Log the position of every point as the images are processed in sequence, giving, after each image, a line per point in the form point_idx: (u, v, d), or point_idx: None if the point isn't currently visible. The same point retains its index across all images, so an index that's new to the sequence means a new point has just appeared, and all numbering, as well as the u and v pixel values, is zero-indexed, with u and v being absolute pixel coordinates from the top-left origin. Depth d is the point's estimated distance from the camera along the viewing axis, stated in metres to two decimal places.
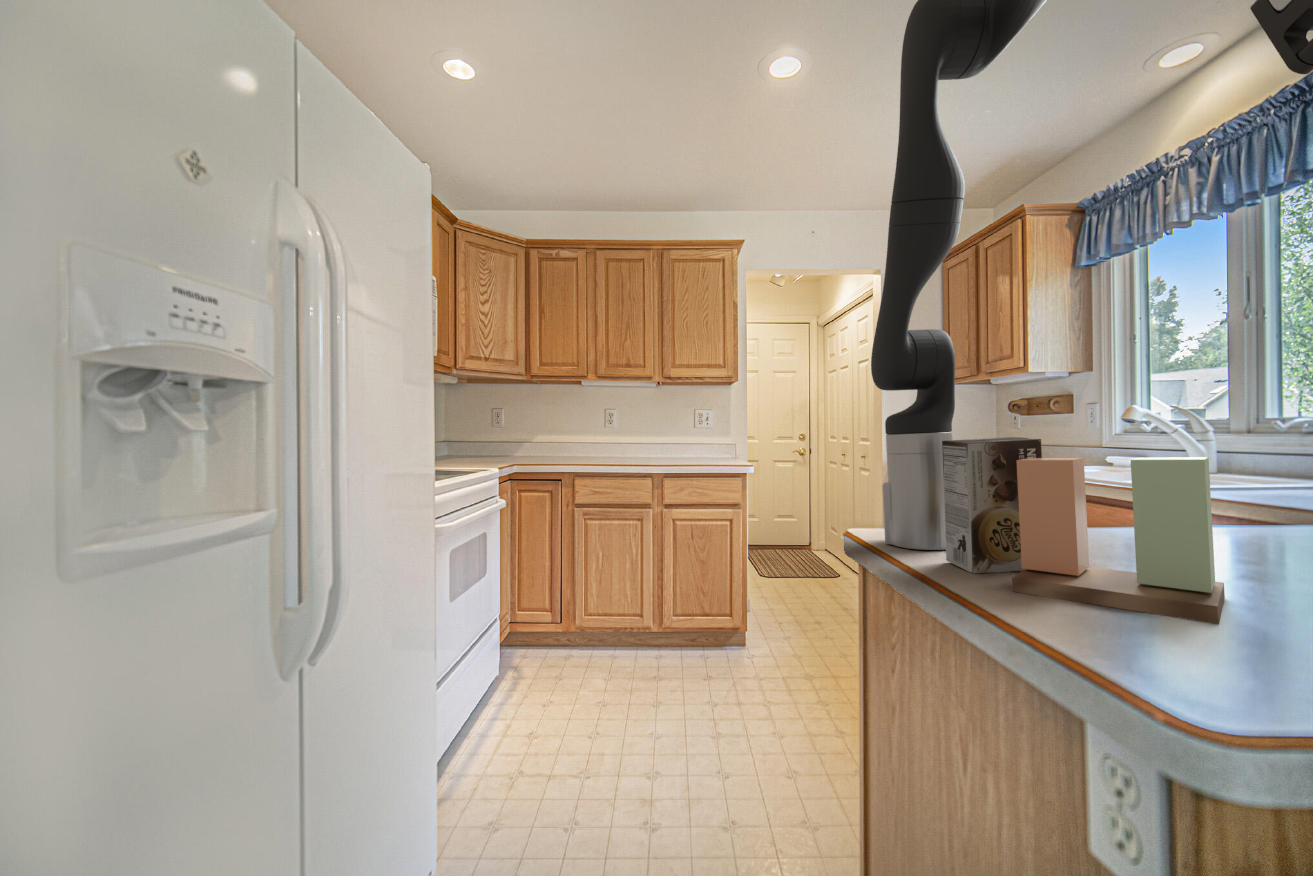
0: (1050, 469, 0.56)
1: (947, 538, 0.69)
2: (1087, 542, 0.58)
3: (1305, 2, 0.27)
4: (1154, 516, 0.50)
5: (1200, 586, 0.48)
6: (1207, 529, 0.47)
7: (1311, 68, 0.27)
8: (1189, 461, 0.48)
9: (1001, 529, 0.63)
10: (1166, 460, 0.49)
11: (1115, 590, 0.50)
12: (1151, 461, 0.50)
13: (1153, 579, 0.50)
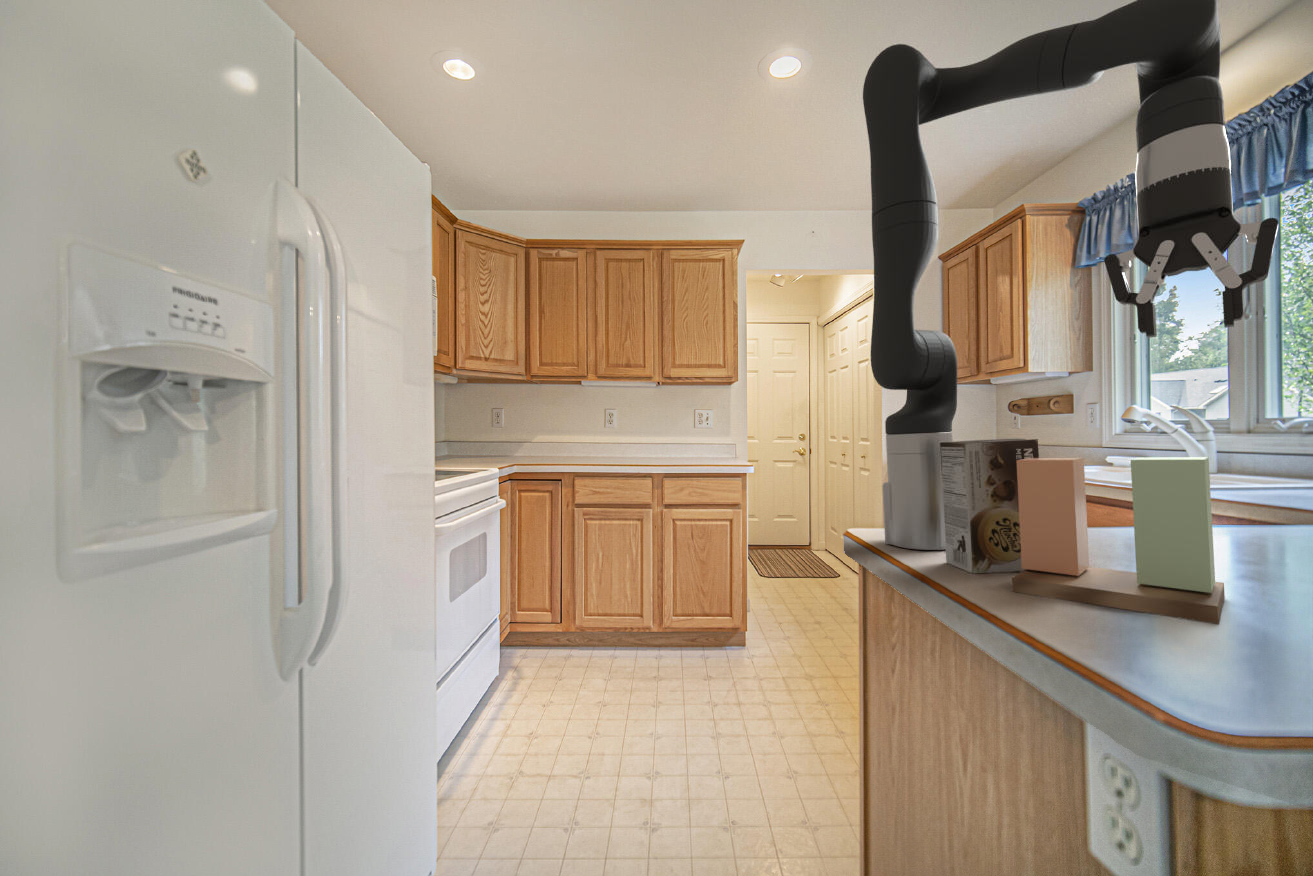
0: (1050, 469, 0.56)
1: (947, 539, 0.69)
2: (1087, 542, 0.58)
3: (1272, 251, 0.55)
4: (1154, 516, 0.50)
5: (1200, 586, 0.48)
6: (1207, 529, 0.47)
7: (1256, 278, 0.55)
8: (1189, 461, 0.48)
9: (1000, 528, 0.64)
10: (1166, 460, 0.49)
11: (1115, 590, 0.50)
12: (1151, 461, 0.50)
13: (1153, 579, 0.50)
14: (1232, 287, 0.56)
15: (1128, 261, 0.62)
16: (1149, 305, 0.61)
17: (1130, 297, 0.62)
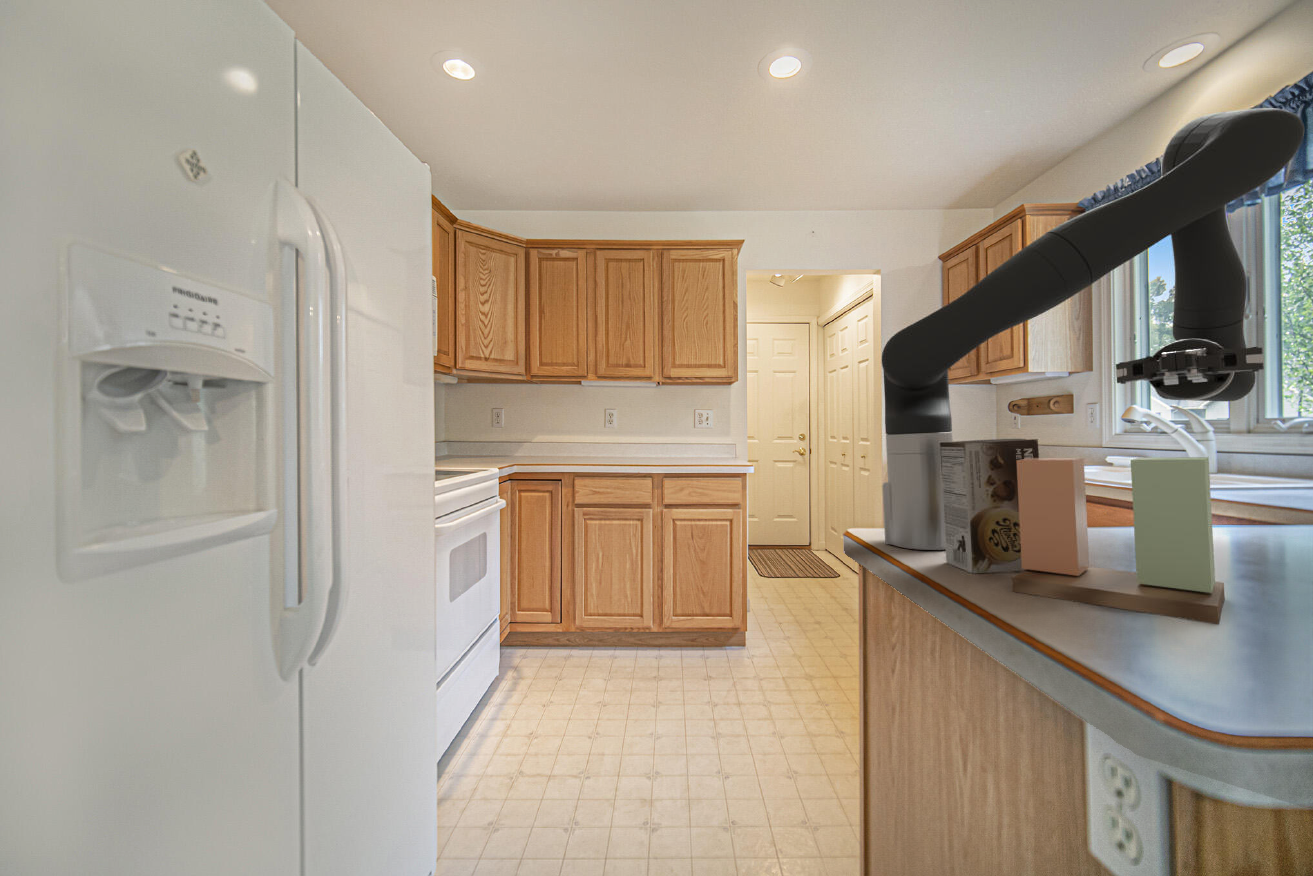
0: (1050, 469, 0.56)
1: (947, 539, 0.69)
2: (1087, 542, 0.58)
3: (1130, 366, 0.65)
4: (1154, 516, 0.50)
5: (1200, 586, 0.48)
6: (1207, 529, 0.47)
7: (1154, 374, 0.62)
8: (1189, 461, 0.48)
9: (1000, 528, 0.64)
10: (1166, 460, 0.49)
11: (1115, 590, 0.50)
12: (1151, 461, 0.50)
13: (1153, 579, 0.50)
14: (1171, 375, 0.60)
15: None
16: (1183, 373, 0.59)
17: (1205, 368, 0.59)
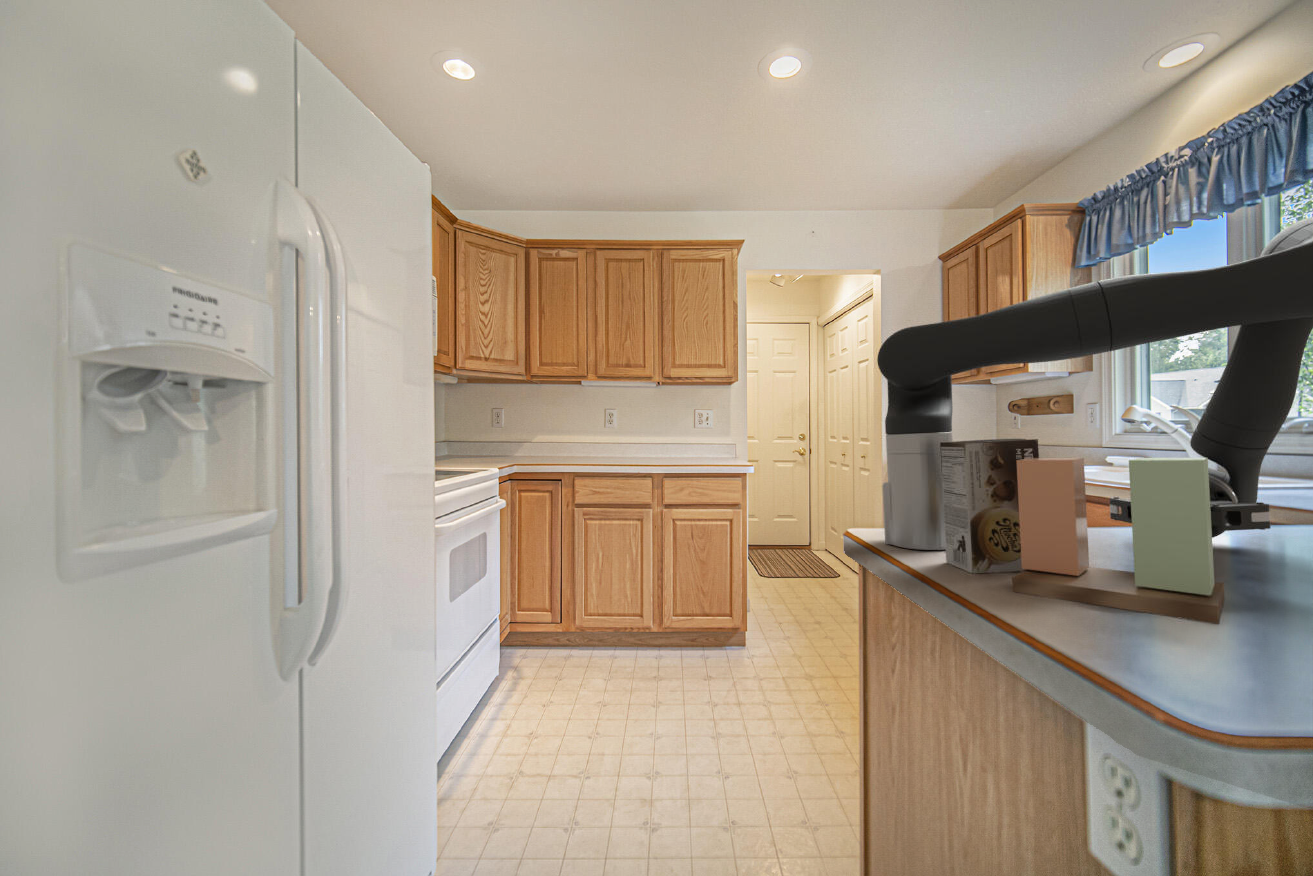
0: (1050, 469, 0.56)
1: (947, 539, 0.69)
2: (1087, 542, 0.58)
3: (1125, 506, 0.59)
4: (1153, 518, 0.49)
5: (1199, 589, 0.47)
6: (1206, 531, 0.47)
7: None
8: (1188, 462, 0.47)
9: (1000, 528, 0.64)
10: (1164, 461, 0.49)
11: (1115, 590, 0.50)
12: (1149, 462, 0.49)
13: (1151, 581, 0.49)
14: None
15: None
16: None
17: None
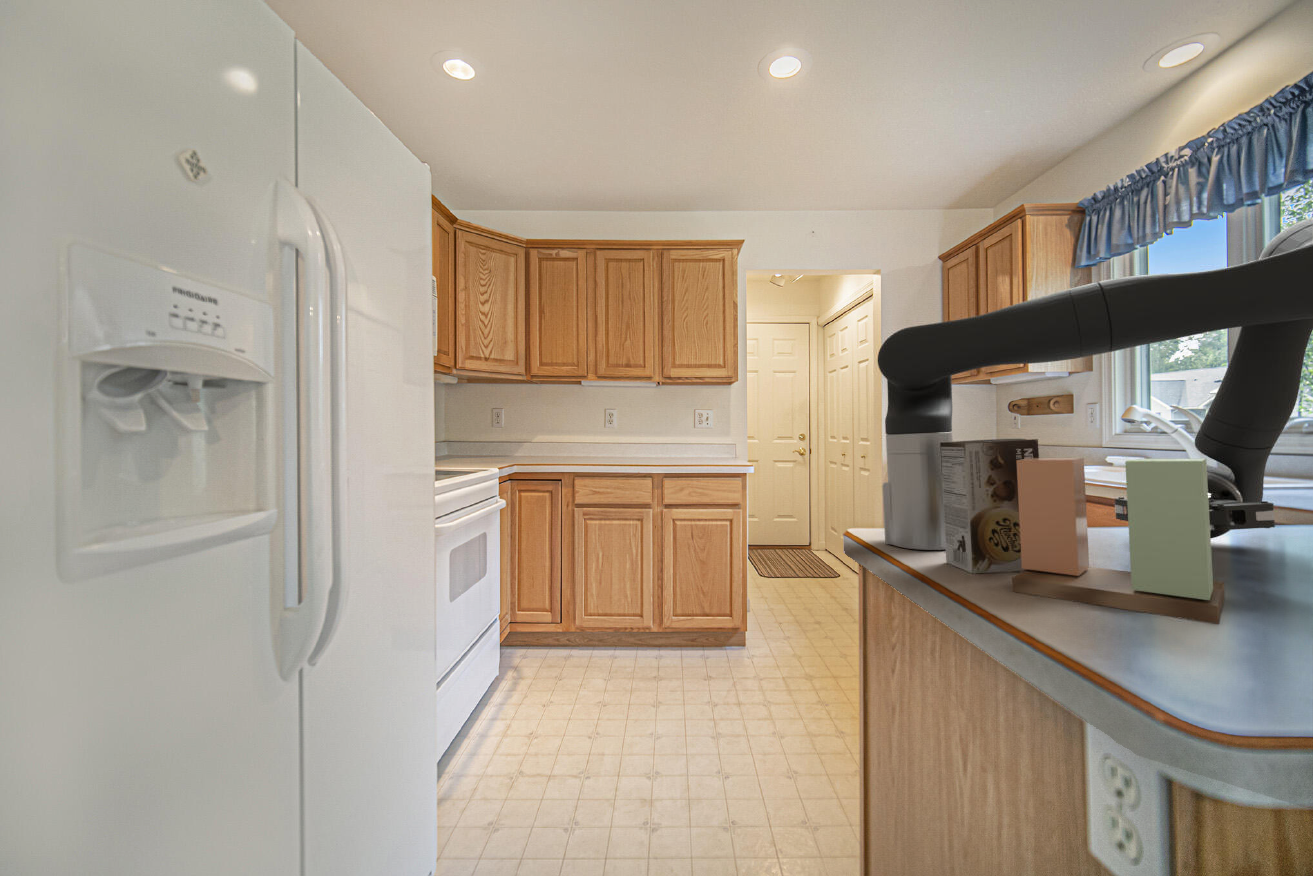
0: (1050, 469, 0.56)
1: (947, 539, 0.69)
2: (1087, 542, 0.58)
3: None
4: (1150, 520, 0.48)
5: (1197, 593, 0.46)
6: (1204, 534, 0.46)
7: None
8: (1186, 463, 0.46)
9: (1000, 528, 0.64)
10: (1162, 462, 0.47)
11: (1115, 590, 0.50)
12: (1146, 463, 0.48)
13: (1148, 585, 0.48)
14: None
15: None
16: None
17: None
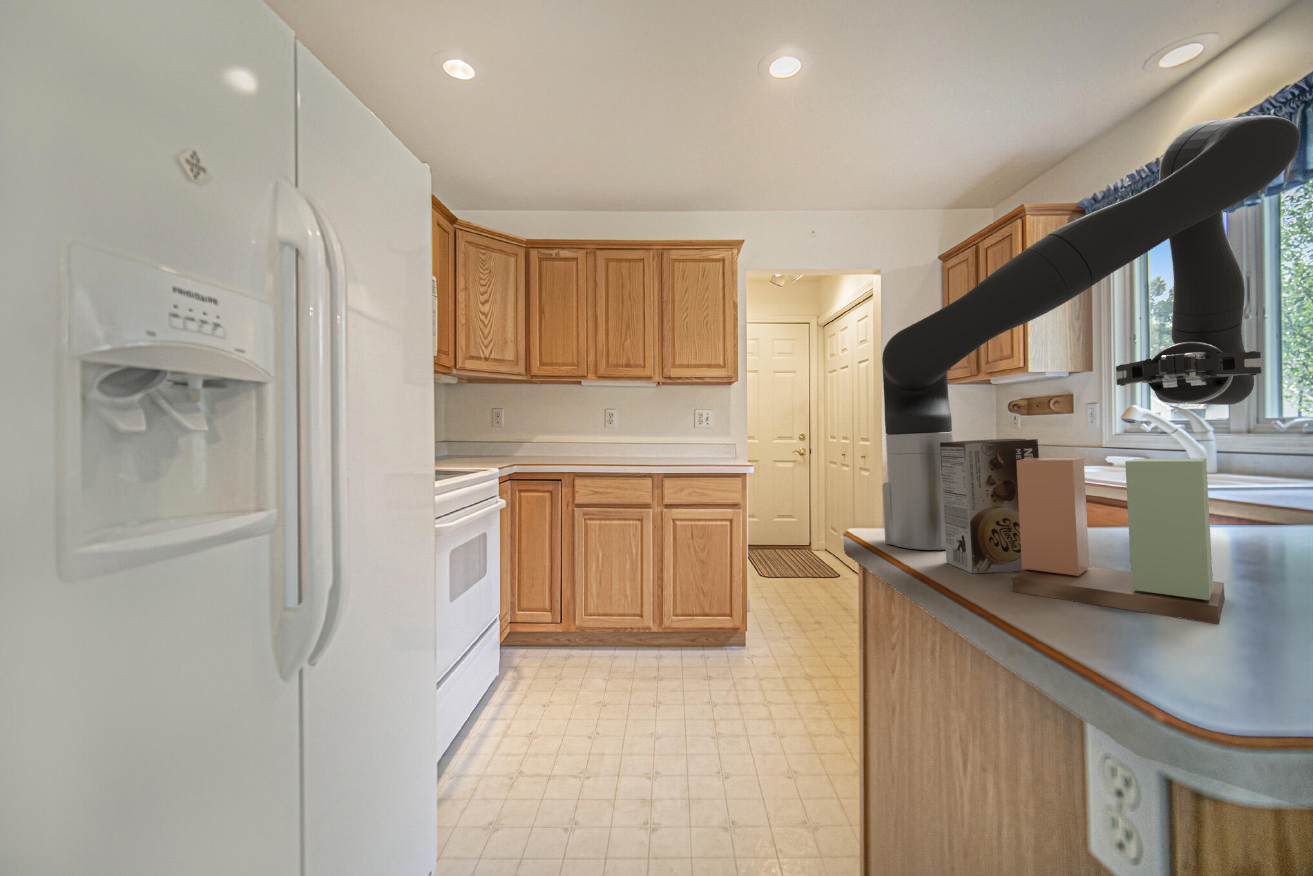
0: (1050, 469, 0.56)
1: (947, 539, 0.69)
2: (1087, 542, 0.58)
3: (1129, 368, 0.65)
4: (1150, 520, 0.48)
5: (1197, 593, 0.46)
6: (1204, 534, 0.46)
7: (1153, 377, 0.62)
8: (1186, 463, 0.46)
9: (1000, 528, 0.64)
10: (1162, 462, 0.47)
11: (1115, 590, 0.50)
12: (1146, 463, 0.48)
13: (1148, 585, 0.48)
14: (1169, 377, 0.61)
15: None
16: (1182, 375, 0.60)
17: (1204, 371, 0.59)
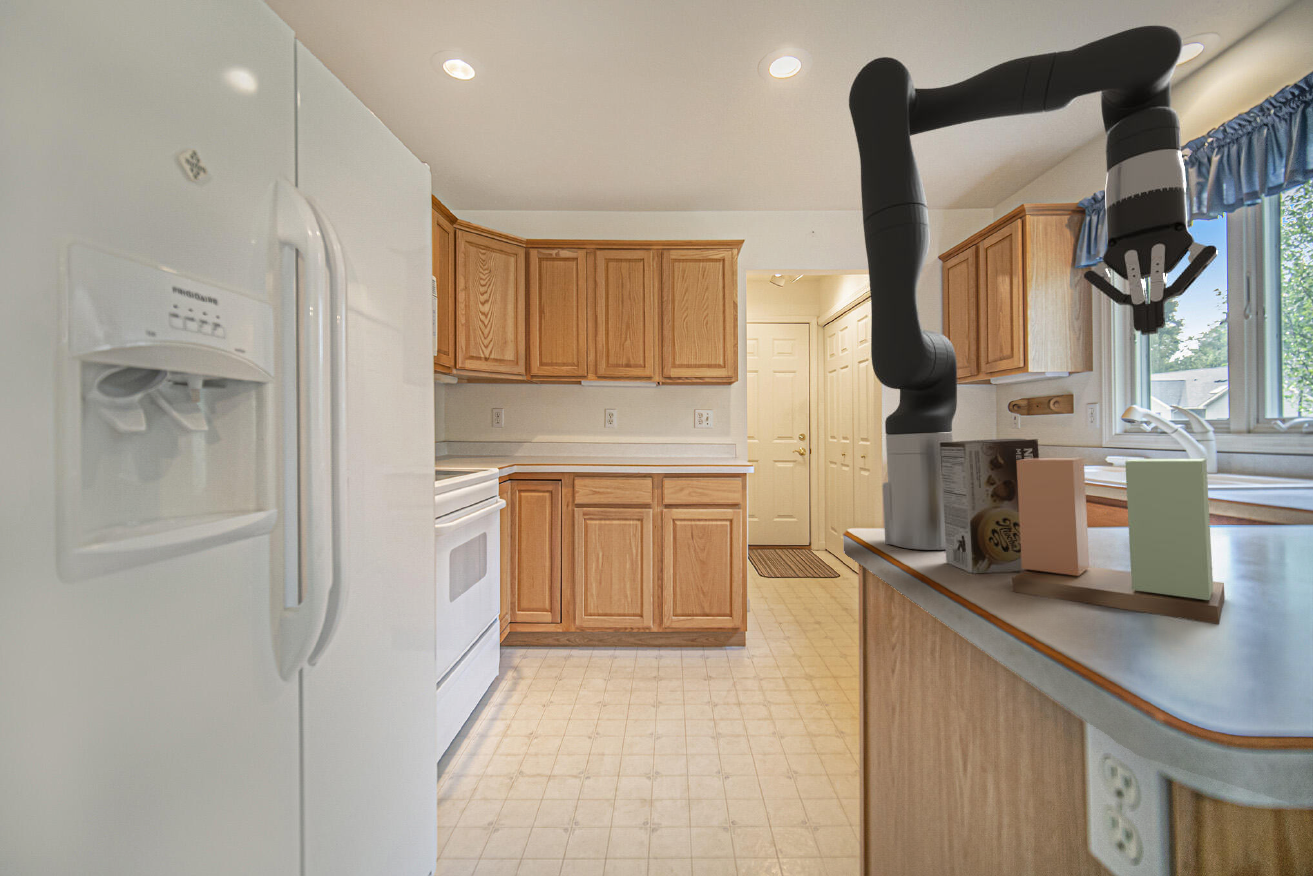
0: (1050, 469, 0.56)
1: (947, 539, 0.69)
2: (1087, 542, 0.58)
3: (1198, 275, 0.64)
4: (1150, 520, 0.48)
5: (1197, 593, 0.46)
6: (1204, 534, 0.46)
7: (1171, 292, 0.65)
8: (1186, 463, 0.46)
9: (1000, 528, 0.64)
10: (1162, 462, 0.47)
11: (1115, 590, 0.50)
12: (1146, 463, 0.48)
13: (1148, 585, 0.48)
14: (1155, 300, 0.66)
15: (1105, 271, 0.70)
16: (1144, 306, 0.67)
17: (1127, 298, 0.68)
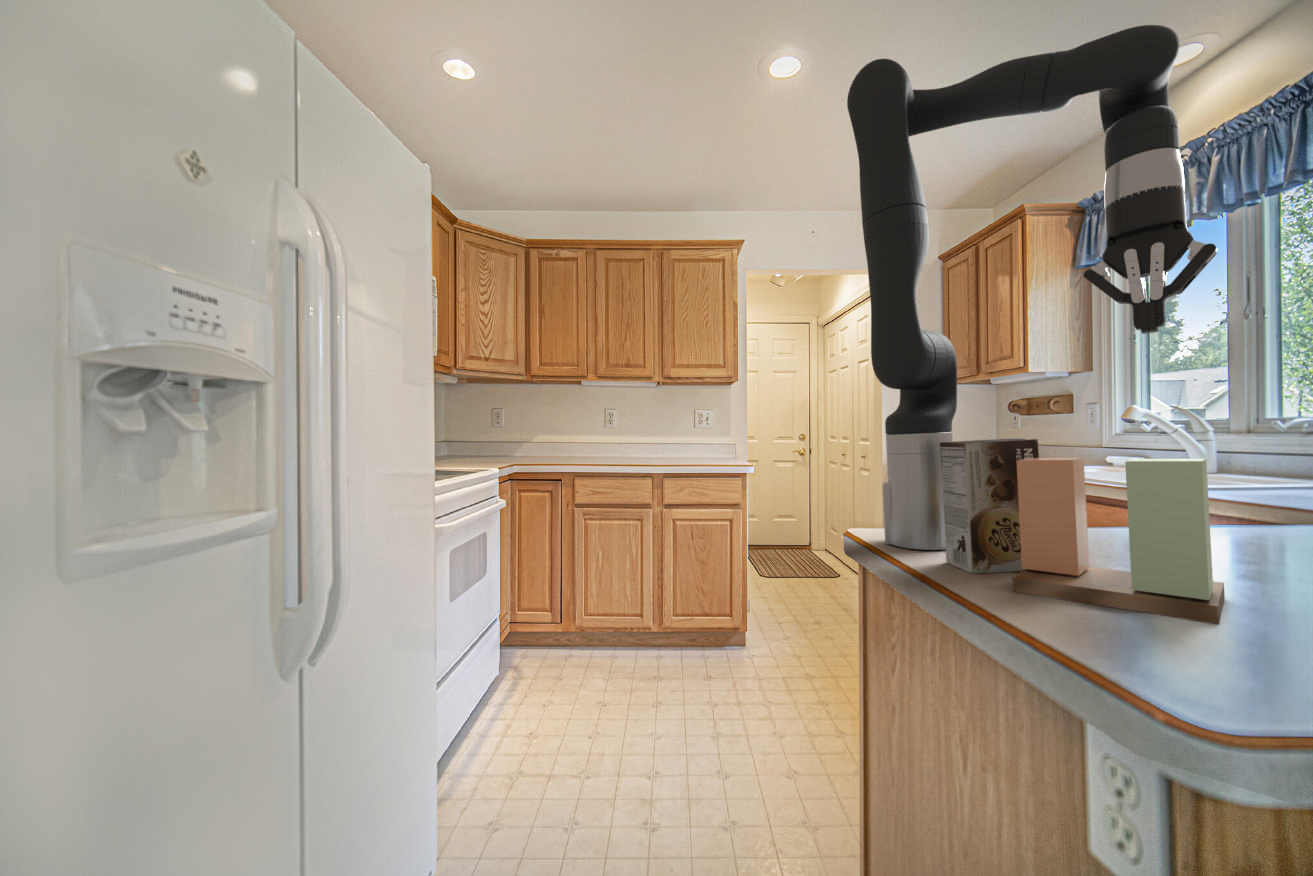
0: (1050, 469, 0.56)
1: (947, 539, 0.69)
2: (1087, 542, 0.58)
3: (1198, 273, 0.64)
4: (1150, 520, 0.48)
5: (1197, 593, 0.46)
6: (1204, 534, 0.46)
7: (1171, 291, 0.65)
8: (1186, 463, 0.46)
9: (1000, 528, 0.64)
10: (1162, 462, 0.47)
11: (1115, 590, 0.50)
12: (1146, 463, 0.48)
13: (1148, 585, 0.48)
14: (1155, 299, 0.66)
15: (1105, 270, 0.70)
16: (1143, 304, 0.67)
17: (1126, 297, 0.68)
